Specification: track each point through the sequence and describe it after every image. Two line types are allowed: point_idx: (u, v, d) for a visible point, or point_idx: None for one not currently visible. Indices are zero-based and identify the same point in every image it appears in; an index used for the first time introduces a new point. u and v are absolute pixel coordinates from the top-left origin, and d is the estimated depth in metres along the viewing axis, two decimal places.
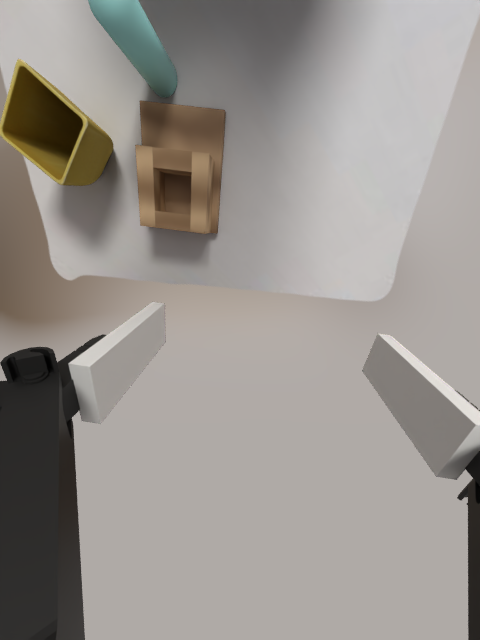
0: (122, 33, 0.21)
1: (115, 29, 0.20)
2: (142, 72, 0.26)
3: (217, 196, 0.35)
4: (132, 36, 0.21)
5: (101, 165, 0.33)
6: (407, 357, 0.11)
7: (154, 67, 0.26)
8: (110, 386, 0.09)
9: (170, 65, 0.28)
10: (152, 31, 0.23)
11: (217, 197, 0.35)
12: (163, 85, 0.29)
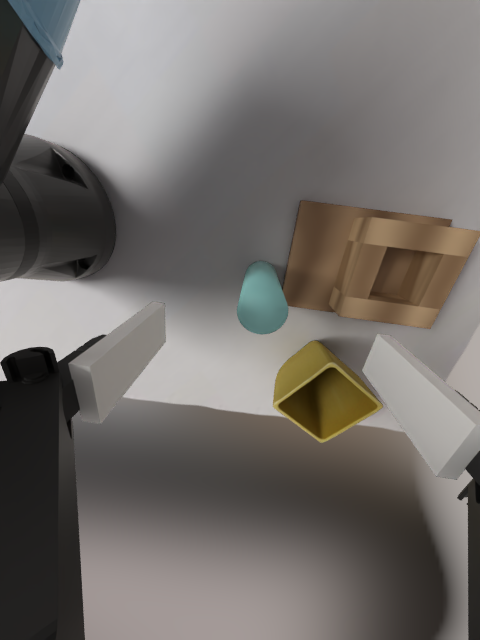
0: None
1: None
2: None
3: (400, 215, 0.24)
4: (283, 294, 0.18)
5: None
6: (407, 357, 0.11)
7: (278, 279, 0.22)
8: (110, 386, 0.09)
9: (261, 264, 0.25)
10: (260, 274, 0.21)
11: (401, 215, 0.24)
12: None
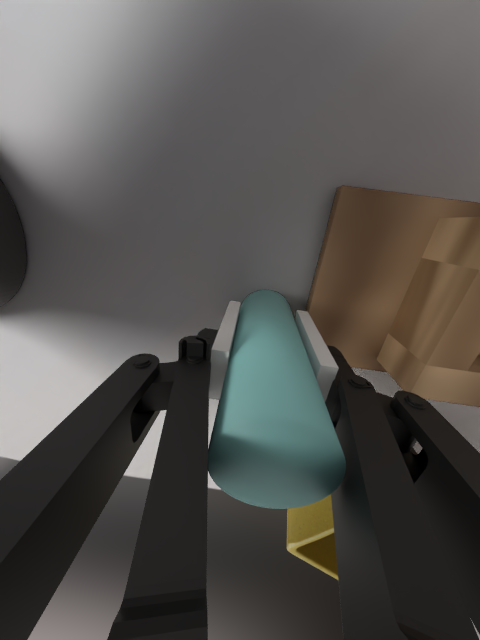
0: None
1: (344, 472, 0.06)
2: None
3: None
4: (326, 408, 0.07)
5: None
6: (307, 325, 0.13)
7: (300, 338, 0.12)
8: None
9: (267, 300, 0.14)
10: (266, 337, 0.10)
11: None
12: None
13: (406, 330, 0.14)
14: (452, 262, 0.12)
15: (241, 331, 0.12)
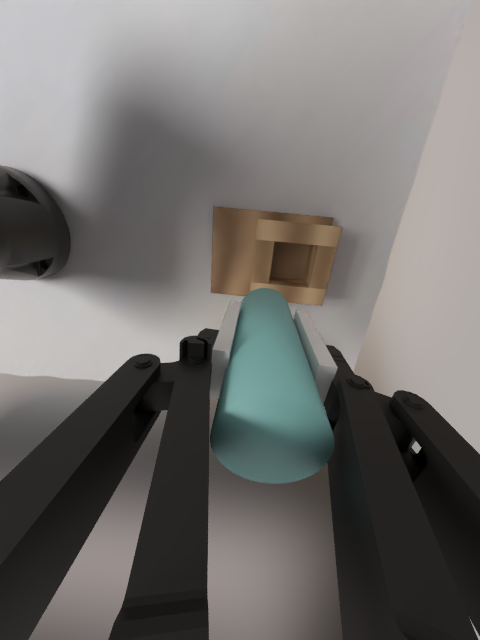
0: None
1: (333, 447, 0.07)
2: None
3: (292, 215, 0.29)
4: (318, 393, 0.08)
5: None
6: (306, 325, 0.13)
7: (297, 332, 0.12)
8: None
9: (266, 297, 0.15)
10: (264, 330, 0.10)
11: (293, 215, 0.29)
12: None
13: None
14: None
15: (241, 326, 0.12)
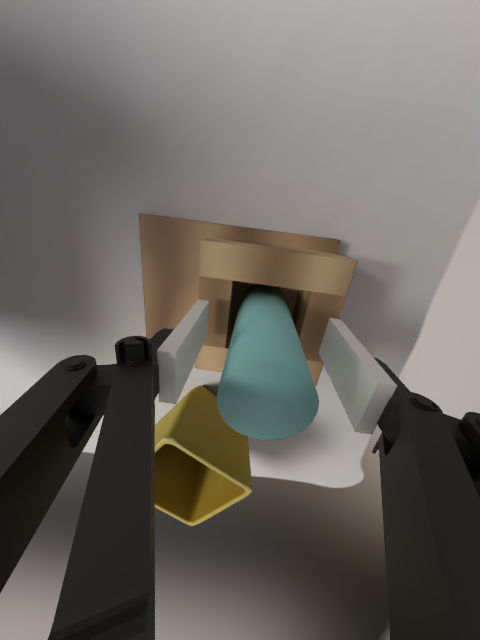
0: None
1: (317, 405, 0.09)
2: None
3: (270, 234, 0.17)
4: (307, 364, 0.10)
5: None
6: (346, 336, 0.12)
7: (291, 319, 0.14)
8: (181, 372, 0.10)
9: (264, 290, 0.17)
10: (262, 315, 0.12)
11: (272, 234, 0.17)
12: (287, 305, 0.17)
13: None
14: None
15: (242, 313, 0.14)
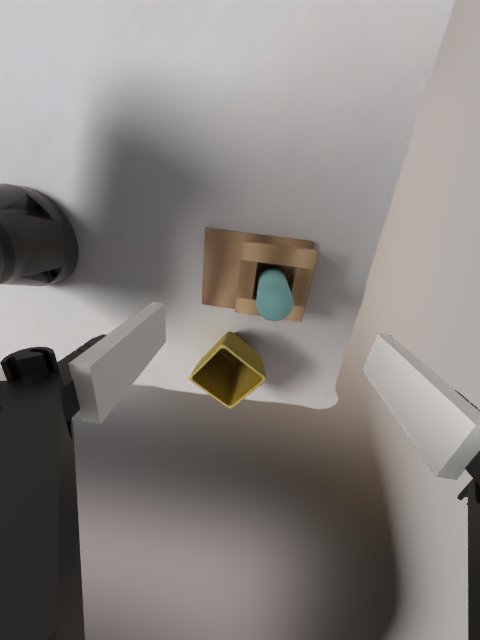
0: None
1: (293, 303, 0.24)
2: None
3: (276, 238, 0.32)
4: (290, 291, 0.24)
5: (246, 344, 0.38)
6: (407, 357, 0.11)
7: (286, 280, 0.29)
8: (110, 386, 0.09)
9: (273, 268, 0.32)
10: (272, 276, 0.27)
11: (277, 238, 0.32)
12: None
13: None
14: None
15: (262, 277, 0.29)
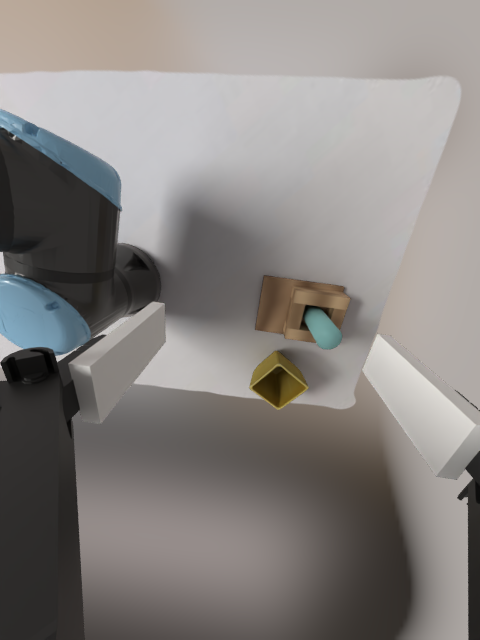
0: None
1: (341, 338, 0.35)
2: None
3: (316, 284, 0.44)
4: None
5: (288, 360, 0.50)
6: (407, 357, 0.11)
7: None
8: (110, 386, 0.09)
9: (315, 307, 0.43)
10: (321, 316, 0.38)
11: (317, 284, 0.44)
12: None
13: (286, 318, 0.46)
14: (292, 299, 0.43)
15: (311, 316, 0.40)
